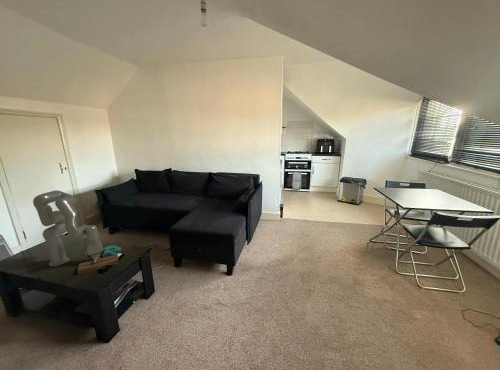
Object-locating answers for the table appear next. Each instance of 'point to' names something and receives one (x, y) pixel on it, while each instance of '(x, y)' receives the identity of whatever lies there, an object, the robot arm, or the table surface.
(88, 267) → the board
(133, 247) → the table surface
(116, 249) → the alien figure
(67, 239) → the table surface
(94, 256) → the mallet
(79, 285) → the table surface
